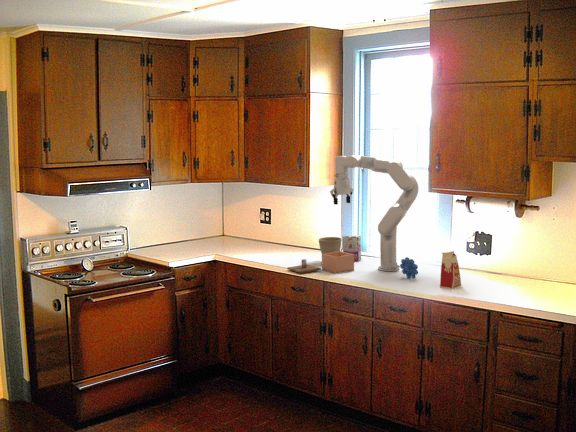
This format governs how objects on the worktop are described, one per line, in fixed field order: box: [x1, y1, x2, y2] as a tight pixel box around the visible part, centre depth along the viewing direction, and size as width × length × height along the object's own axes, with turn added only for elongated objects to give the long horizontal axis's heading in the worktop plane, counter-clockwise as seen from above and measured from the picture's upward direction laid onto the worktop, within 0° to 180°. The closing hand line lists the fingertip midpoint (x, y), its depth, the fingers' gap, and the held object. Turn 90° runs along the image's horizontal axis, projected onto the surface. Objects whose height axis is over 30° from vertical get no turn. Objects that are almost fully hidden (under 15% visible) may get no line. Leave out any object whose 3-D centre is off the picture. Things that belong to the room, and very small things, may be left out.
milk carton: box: [439, 250, 462, 291], centre depth 350 cm, size 9×9×20 cm
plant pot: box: [318, 236, 343, 255], centre depth 421 cm, size 15×15×16 cm
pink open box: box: [321, 250, 355, 275], centre depth 400 cm, size 14×14×10 cm
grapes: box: [399, 256, 419, 279], centre depth 373 cm, size 12×7×12 cm, turn 49°
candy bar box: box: [342, 234, 362, 262], centre depth 428 cm, size 11×5×16 cm, turn 62°
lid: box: [287, 258, 322, 274], centre depth 401 cm, size 15×15×7 cm
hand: (342, 203), depth 402 cm, fingers open, 9 cm apart
